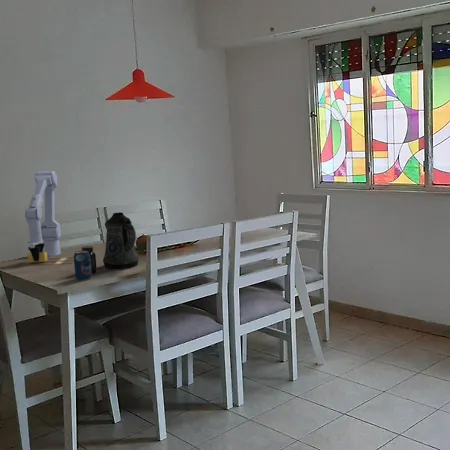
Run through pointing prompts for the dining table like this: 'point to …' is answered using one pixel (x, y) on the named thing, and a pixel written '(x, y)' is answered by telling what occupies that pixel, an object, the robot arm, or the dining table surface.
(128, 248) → the beer stein
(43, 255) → the block
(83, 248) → the supplement bottle
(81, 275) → the soda can
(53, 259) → the board
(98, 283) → the dining table surface
